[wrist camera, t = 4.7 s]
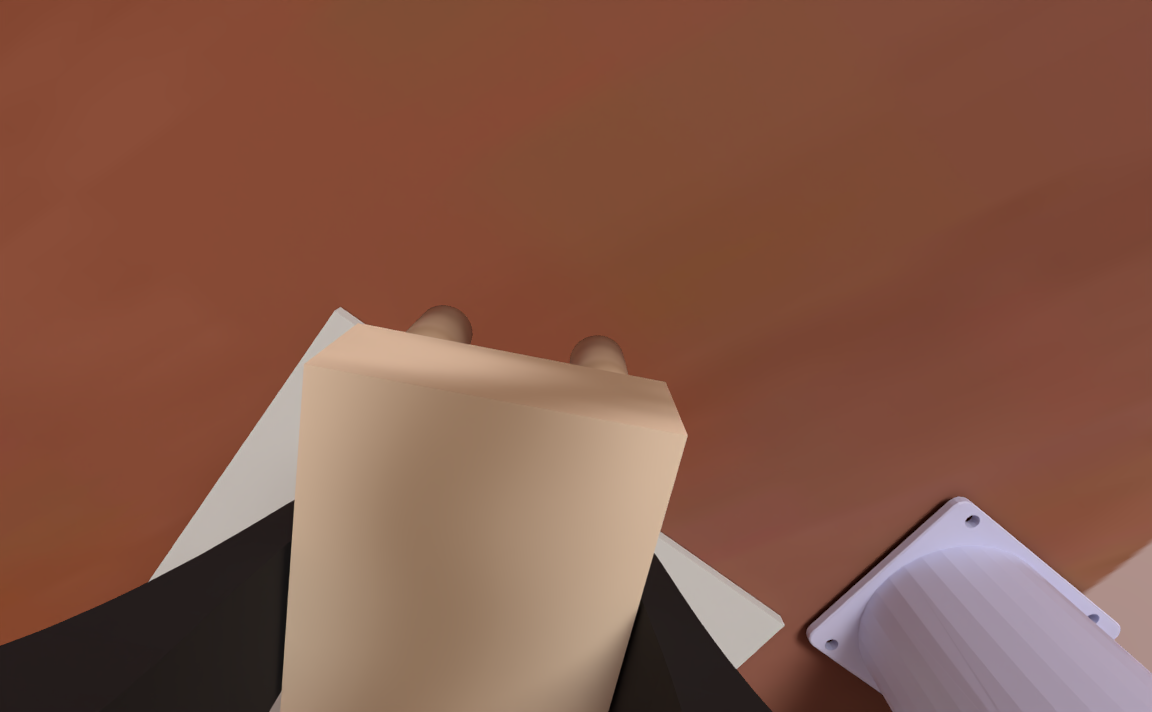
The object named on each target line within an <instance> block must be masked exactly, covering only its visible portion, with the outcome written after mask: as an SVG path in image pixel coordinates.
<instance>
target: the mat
mask: <svg viewBox="0 0 1152 712" xmlns="http://www.w3.org/2000/svg"><path fill="white" fill-rule="evenodd" d="M357 323H360V324H364V323H362V322H361V321H360V320H358V319H357V318H355V317H354V316H352V315H351V314H350V313H348V312H347V311H345V310H344V309H342V308H341V307H340V308H338V309H337V310H335V311H334V313H333V314H332V316H331V317H330V318H329V320H328V321H327V323H326V324H325V326H324V327H323V329H322V330H321V332H320V333H319V334H318V336H317V337H316V339H315V340H314V342H313V343H312V345H311V346H310V348H309V349H308V350H307V352H306V353H305V355H304V356H303V358H302V359H301V361H300V362H299V364H298V365H297V366H296V368H295V369H294V371H293V372H292V374H291V375H290V377H289V378H288V380H287V381H286V382H285V384H284V385H283V387H282V388H281V390H280V391H279V393H278V394H277V396H276V397H275V398H274V400H273V401H272V403H271V404H270V406H269V407H268V409H267V410H266V412H265V413H264V414H263V416H262V417H261V419H260V420H259V422H258V423H257V425H256V426H255V428H254V429H253V430H252V432H251V433H250V435H249V436H248V438H247V439H246V441H245V442H244V444H243V445H242V446H241V448H240V449H239V451H238V452H237V454H236V455H235V457H234V458H233V460H232V461H231V462H230V464H229V465H228V467H227V468H226V470H225V471H224V473H223V474H222V476H221V477H220V478H219V480H218V481H217V483H216V484H215V486H214V487H213V489H212V490H211V492H210V493H209V494H208V496H207V497H206V499H205V500H204V502H203V503H202V505H201V506H200V508H199V509H198V510H197V512H196V513H195V515H194V516H193V518H192V519H191V521H190V522H189V524H188V525H187V526H186V528H185V529H184V531H183V532H182V534H181V535H180V537H179V538H178V540H177V541H176V542H175V544H174V545H173V547H172V548H171V550H170V551H169V553H168V554H167V556H166V557H165V558H164V560H163V561H162V563H161V564H160V566H159V567H158V569H157V570H156V572H155V573H154V574H153V576H152V577H151V579H150V580H149V581H151V580H153V579H155V578H157V577H159V576H161V575H163V574H164V573H166V572H168V571H170V570H172V569H174V568H176V567H178V566H180V565H182V564H184V563H185V562H187V561H189V560H191V559H193V558H195V557H197V556H199V555H201V554H203V553H204V552H206V551H208V550H210V549H211V548H213V547H215V546H216V545H218V544H220V543H222V542H223V541H225V540H227V539H229V538H230V537H232V536H234V535H236V534H237V533H239V532H241V531H242V530H244V529H246V528H248V527H249V526H251V525H253V524H254V523H256V522H258V521H259V520H261V519H263V518H264V517H266V516H268V515H269V514H271V513H273V512H274V511H276V510H278V509H279V508H281V507H283V506H284V505H286V504H288V503H290V502H291V501H293V500H295V487H296V473H297V458H298V443H299V428H300V414H301V399H302V384H303V370H304V364H305V363H306V362H307V361H309V360H310V359H311V358H313V357H314V356H315V355H317V354H318V353H319V352H321V351H322V350H323V349H324V348H326V347H327V346H328V345H330V344H331V343H332V342H334V341H335V340H336V339H338V338H339V337H340V336H342V335H343V334H344V333H345V332H347V331H348V330H349V329H351V328H352V327H353V326H355V325H356V324H357ZM654 553H655V554H656V556H657V557H658V559H659V560H660V562H661V563H662V565H663V566H664V568H665V569H666V571H667V572H668V574H669V575H670V577H671V578H672V580H673V582H674V583H675V585H676V586H677V588H678V589H679V591H680V592H681V594H682V595H683V597H684V598H685V600H686V601H687V603H688V604H689V606H690V607H691V609H692V610H693V612H694V613H695V614H696V616H697V617H698V619H699V620H700V622H701V623H702V624H703V626H704V627H705V629H706V630H707V631H708V633H709V634H710V636H711V637H712V638H713V640H714V641H715V642H716V644H717V645H718V646H719V648H720V649H721V650H722V652H723V653H724V654H725V656H726V657H727V658H728V660H729V661H730V662H731V663H732V664H733V666H734V667H735V668H736V669H737V668H738V667H739V666H741V665H742V664H743V663H744V662H745V661H746V660H747V659H748V658H749V657H750V656H752V655H753V654H754V653H755V652H756V651H757V650H758V649H759V648H760V647H761V646H763V645H764V644H765V643H766V642H767V641H768V640H769V639H770V638H771V637H772V636H774V635H775V634H776V633H777V632H778V631H779V630H780V629H781V628H782V627H783V626H785V625H784V623H783V621H782V619H781V616H780V615H778V614H777V613H775V612H774V611H772V610H771V609H770V608H768V607H767V606H765V605H764V604H762V603H761V602H760V601H758V600H757V599H755V598H754V597H753V596H751V595H750V594H748V593H747V592H745V591H744V590H743V589H741V588H740V587H738V586H737V585H735V584H734V583H733V582H731V581H730V580H728V579H727V578H725V577H724V576H723V575H721V574H720V573H718V572H717V571H716V570H714V569H713V568H711V567H710V566H708V565H707V564H706V563H704V562H703V561H701V560H700V559H698V558H697V557H696V556H694V555H693V554H691V553H690V552H688V551H687V550H686V549H684V548H683V547H681V546H680V545H678V544H677V543H676V542H674V541H673V540H671V539H670V538H669V537H667V536H666V535H664V534H663V533H661V532H660V534H659V537H658V540H657V544H656V547H655V551H654ZM281 693H282V691H281ZM281 693H280V695H279V696H278V698H277V700H276V701H275V703H274V705H273V706H272V708H271V710H270V711H269V712H280V708H281Z"/></svg>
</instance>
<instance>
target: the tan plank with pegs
mask: <svg viewBox="0 0 1152 712" xmlns="http://www.w3.org/2000/svg"><path fill="white" fill-rule="evenodd" d="M471 340H472V327H471V324H470V322H469V320H468V318H467V317H466V316H465V315H464V314H463V313H462V312H461V311H460V310H458V309H456V308H454V307H451V306H446V305H440V306H435V307H432V308H430V309H429V310H427V311H426V312H425V313H424V314H423V315H422V316H421V317H420V318H419V319H418V320H417V321H416V322H415V323H414V324H413V325H412V326H411V327H410V328H409V329H408V330H407V331H406V332H401V331H396V330H391V329H386V328H381V327H375V326H370V325H365V324H360V323H357V324H356V325H355V326H353V327H352V328H351V329H349V330H348V331H347V332H345V333H344V334H343V335H342V336H340V337H339V338H338V339H336V340H335V341H334V342H332V343H331V344H330V345H328V346H327V347H326V348H324V349H323V350H322V351H321V352H319V353H318V354H317V355H315V356H314V357H313V358H311V359H310V360H309V361H307V362H306V363H305V364H304V370H303V384H302V399H301V414H300V428H299V443H298V458H297V473H296V487H295V502H294V517H293V531H292V546H291V561H290V576H289V590H288V605H287V620H286V634H285V649H284V664H283V678H282V693H281V708H280V712H608V711H609V708H610V704H611V701H612V697H613V694H614V690H615V687H616V683H617V680H618V676H619V673H620V669H621V666H622V662H623V659H624V655H625V652H626V649H627V645H628V642H629V638H630V635H631V631H632V628H633V624H634V621H635V617H636V614H637V610H638V607H639V603H640V600H641V596H642V593H643V589H644V586H645V582H646V579H647V575H648V572H649V568H650V565H651V561H652V558H653V554H654V551H655V547H656V544H657V540H658V537H659V534H660V530H661V527H662V523H663V520H664V516H665V513H666V509H667V506H668V502H669V499H670V495H671V492H672V488H673V485H674V481H675V478H676V474H677V471H678V467H679V464H680V460H681V457H682V453H683V450H684V446H685V443H686V439H687V436H688V435H687V433H686V431H685V428H684V426H683V423H682V421H681V418H680V416H679V414H678V411H677V409H676V406H675V404H674V401H673V399H672V396H671V394H670V392H669V389H668V387H667V384H666V382H662V381H657V380H652V379H646V378H641V377H636V376H631V375H628V372H627V368H626V364H625V360H624V356H623V353H622V350H621V348H620V347H619V345H618V344H617V343H616V342H615V341H613V340H612V339H610V338H608V337H605V336H590V337H587V338H585V339H583V340H581V341H580V342H579V343H578V344H577V345H576V346H575V347H574V349H573V351H572V353H571V356H570V364H568V363H563V362H558V361H553V360H547V359H542V358H537V357H532V356H527V355H521V354H516V353H511V352H506V351H500V350H495V349H490V348H485V347H480V346H474V345H470V343H471Z"/></svg>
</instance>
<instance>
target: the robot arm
mask: <svg viewBox="0 0 1152 712" xmlns="http://www.w3.org/2000/svg"><path fill="white" fill-rule="evenodd" d="M294 502H295V500H293V501H291V502H290V503H288V504H286V505H284V506H283V507H281V508H279V509H278V510H276V511H274V512H273V513H271V514H269V515H268V516H266V517H264V518H263V519H261V520H259V521H258V522H256V523H254V524H253V525H251V526H249V527H248V528H246V529H244V530H242V531H241V532H239V533H237V534H236V535H234V536H232V537H230V538H229V539H227V540H225V541H223V542H222V543H220V544H218V545H216V546H215V547H213V548H211V549H210V550H208V551H206V552H204V553H203V554H201V555H199V556H197V557H195V558H193V559H191V560H189V561H187V562H185V563H184V564H182V565H180V566H178V567H176V568H174V569H172V570H170V571H168V572H166V573H164V574H163V575H161V576H159V577H157V578H155V579H153V580H151V581H149V582H147V583H145V584H143V585H141V586H140V587H138V588H136V589H134V590H131V591H129V592H127V593H125V594H123V595H121V596H119V597H117V598H115V599H112V600H110V601H108V602H106V603H104V604H102V605H100V606H97V607H95V608H93V609H90V610H88V611H86V612H83V613H81V614H79V615H77V616H74V617H72V618H70V619H67V620H65V621H63V622H60V623H58V624H56V625H53V626H51V627H48V628H46V629H44V630H41V631H39V632H36V633H33V634H31V635H28V636H25V637H23V638H20V639H17V640H15V641H12V642H9V643H7V644H4V645H1V646H0V712H269V711H270V710H271V708H272V706H273V705H274V703H275V701H276V700H277V698H278V696H279V695H280V693H281V691H282V678H283V664H284V649H285V634H286V620H287V605H288V590H289V576H290V561H291V546H292V531H293V517H294ZM972 515H973V516H972ZM969 516H972V518H971V519H970V520H968V521H965V520H966V519H967V518H968V517H969ZM1119 633H1120V626H1119V624H1118V623H1117V622H1116V621H1115V620H1113V619H1112V618H1111V617H1110V616H1109V615H1107V614H1106V613H1105V612H1104V611H1102V610H1101V609H1100V608H1099V607H1098V606H1097V605H1095V604H1094V603H1093V602H1092V601H1091V600H1089V599H1088V598H1087V597H1086V596H1084V595H1083V594H1082V593H1081V592H1080V591H1078V590H1077V589H1076V588H1075V587H1074V586H1072V585H1071V584H1070V583H1069V582H1068V581H1066V580H1065V579H1064V578H1063V577H1061V576H1060V575H1059V574H1058V573H1057V572H1055V571H1054V570H1053V569H1052V568H1051V567H1049V566H1048V565H1047V564H1046V563H1045V562H1043V561H1042V560H1041V559H1040V558H1039V557H1037V556H1036V555H1035V554H1034V553H1032V552H1031V551H1030V550H1029V549H1028V548H1026V547H1025V546H1024V545H1023V544H1022V543H1020V542H1019V541H1018V540H1017V539H1016V538H1014V537H1013V536H1012V535H1011V534H1009V533H1008V532H1007V531H1006V530H1005V529H1003V528H1002V527H1001V526H1000V525H999V524H997V523H996V522H995V521H994V520H993V519H991V518H990V517H989V516H988V515H986V514H985V513H984V512H983V511H982V510H980V509H979V508H978V507H977V506H976V505H974V504H973V503H972V502H971V501H970V500H968V499H967V498H965V497H956V498H953V499H951V500H949V501H948V502H947V503H946V504H945V505H944V506H942V507H941V508H940V509H939V510H938V511H937V512H936V513H935V514H933V515H932V516H931V517H930V518H929V519H928V520H927V521H926V522H925V523H923V524H922V525H921V526H920V527H919V528H918V529H917V530H916V531H915V532H913V533H912V534H911V535H910V536H909V537H908V538H907V539H906V540H904V541H903V542H902V543H901V544H900V545H899V546H898V547H897V548H896V549H894V550H893V551H892V552H891V553H890V554H889V555H888V556H887V557H886V558H884V559H883V560H882V561H881V562H880V563H879V564H878V565H877V566H876V567H874V568H873V569H872V570H871V571H870V572H869V573H868V574H867V575H865V576H864V577H863V578H862V579H861V580H860V581H859V582H858V583H857V584H855V585H854V586H853V587H852V588H851V589H850V590H849V591H848V592H847V593H845V594H844V595H843V596H842V597H841V598H840V599H839V600H838V601H836V602H835V603H834V604H833V605H832V606H831V607H830V608H829V609H828V610H826V611H825V612H824V613H823V614H822V615H821V616H820V617H819V618H818V619H816V620H815V621H814V622H813V623H812V624H811V625H810V626H809V627H808V628H807V631H806V635H807V638H808V640H809V642H810V643H811V644H812V645H813V646H814V647H815V648H817V649H818V650H820V651H821V652H822V653H824V654H825V655H827V656H828V657H830V658H831V659H832V660H834V661H835V662H837V663H838V664H840V665H841V666H842V667H844V668H845V669H847V670H848V671H850V672H851V673H852V674H854V675H855V676H857V677H858V678H860V679H861V680H862V681H864V682H865V683H867V684H868V685H870V686H871V687H873V688H874V689H875V690H877V691H878V692H880V693H881V694H882V695H883V696H884V698H885V700H886V701H887V703H888V705H889V707H890V708H891V710H892V712H1152V673H1151V672H1149V670H1147V669H1146V668H1145V667H1144V666H1143V665H1142V664H1141V663H1139V662H1138V661H1137V660H1136V659H1135V658H1134V657H1133V656H1131V655H1130V654H1129V653H1128V652H1127V651H1126V650H1125V649H1124V648H1123V647H1121V646H1120V645H1119V644H1118V643H1117V642H1116V641H1115V640H1114V639H1115V638H1116V637H1117V636H1118V635H1119ZM832 639H833V640H832ZM828 640H832V641H830V642H827V641H828ZM826 642H827V643H826ZM608 712H772V711H771V710H770V709H769V708H768V706H767V705H766V704H765V703H764V702H763V701H762V700H761V698H760V697H759V696H758V695H757V694H756V693H755V692H754V690H753V689H752V688H751V687H750V686H749V684H748V683H747V682H746V681H745V679H744V678H743V677H742V676H741V674H740V673H739V672H738V671H737V669H736V668H735V667H734V666H733V664H732V663H731V662H730V661H729V660H728V658H727V657H726V656H725V654H724V653H723V652H722V650H721V649H720V648H719V646H718V645H717V644H716V642H715V641H714V640H713V638H712V637H711V636H710V634H709V633H708V631H707V630H706V629H705V627H704V626H703V624H702V623H701V622H700V620H699V619H698V617H697V616H696V614H695V613H694V612H693V610H692V609H691V607H690V606H689V604H688V603H687V601H686V600H685V598H684V597H683V595H682V594H681V592H680V591H679V589H678V588H677V586H676V585H675V583H674V582H673V580H672V578H671V577H670V575H669V574H668V572H667V571H666V569H665V568H664V566H663V565H662V563H661V562H660V560H659V559H658V557H657V556H656V554H655V553H654V554H653V558H652V561H651V565H650V568H649V572H648V575H647V579H646V582H645V586H644V589H643V593H642V596H641V600H640V603H639V607H638V610H637V614H636V617H635V621H634V624H633V628H632V631H631V635H630V638H629V642H628V645H627V649H626V652H625V655H624V659H623V662H622V666H621V669H620V673H619V676H618V680H617V683H616V687H615V690H614V694H613V697H612V701H611V704H610V708H609V711H608Z"/></svg>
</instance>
